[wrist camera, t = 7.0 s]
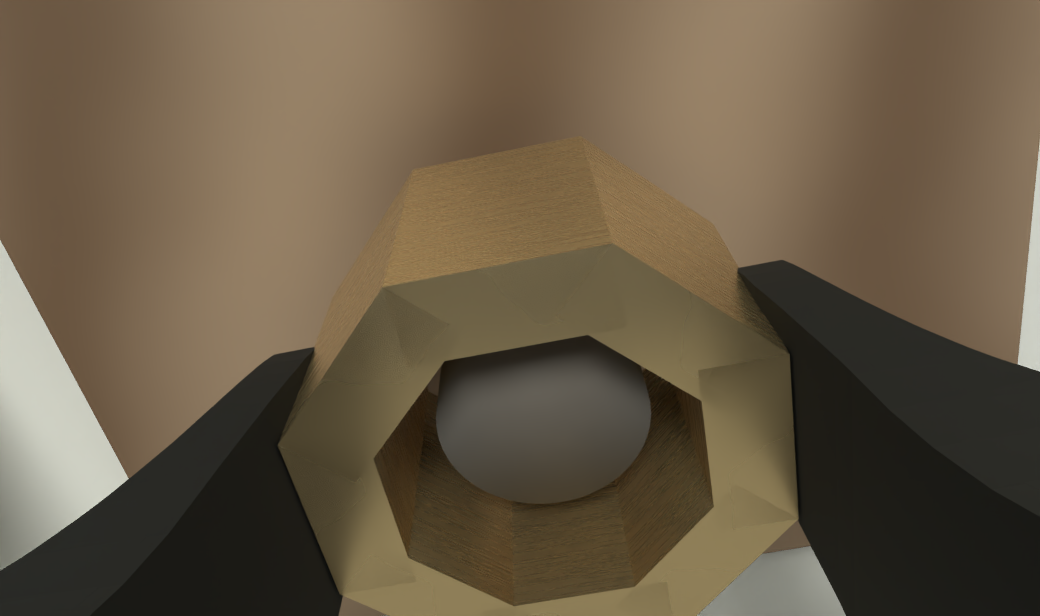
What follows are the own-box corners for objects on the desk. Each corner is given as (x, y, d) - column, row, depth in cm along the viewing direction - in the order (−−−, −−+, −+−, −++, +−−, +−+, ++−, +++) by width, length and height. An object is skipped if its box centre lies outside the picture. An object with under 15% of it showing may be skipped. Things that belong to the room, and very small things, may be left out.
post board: (1042, -361, 11) (1419, -505, 6) (977, 481, 17) (1139, 695, 13) (-125, -89, 12) (-486, -52, 8) (229, 604, 19) (148, 840, 14)
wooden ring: (702, 111, 11) (781, 211, 8) (734, 443, 14) (803, 615, 11) (297, 192, 11) (224, 317, 8) (402, 500, 14) (376, 681, 11)
